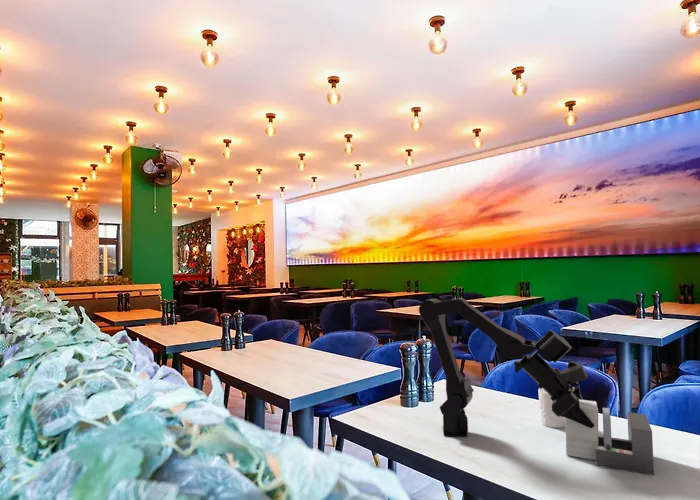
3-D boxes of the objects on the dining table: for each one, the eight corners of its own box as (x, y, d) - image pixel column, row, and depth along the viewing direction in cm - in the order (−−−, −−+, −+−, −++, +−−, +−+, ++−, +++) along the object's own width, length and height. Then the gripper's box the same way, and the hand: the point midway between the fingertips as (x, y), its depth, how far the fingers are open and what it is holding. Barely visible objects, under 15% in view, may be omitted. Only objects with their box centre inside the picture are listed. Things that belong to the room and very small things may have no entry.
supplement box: (597, 449, 114) (597, 401, 114) (598, 461, 108) (598, 410, 108) (565, 443, 118) (565, 396, 118) (564, 455, 111) (565, 404, 111)
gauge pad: (605, 463, 105) (603, 420, 105) (604, 446, 114) (602, 407, 114) (612, 464, 104) (611, 421, 104) (610, 447, 113) (609, 408, 113)
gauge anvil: (596, 465, 105) (594, 423, 106) (595, 446, 116) (593, 408, 116) (654, 475, 100) (652, 431, 100) (647, 454, 111) (645, 414, 111)
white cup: (571, 429, 128) (570, 395, 128) (542, 428, 129) (541, 394, 130) (564, 420, 136) (562, 387, 136) (536, 418, 137) (535, 386, 137)
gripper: (564, 361, 106) (620, 413, 101) (567, 346, 123) (615, 390, 117) (530, 390, 110) (583, 442, 104) (538, 372, 126) (583, 416, 121)
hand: (592, 421), depth 111 cm, fingers open, 8 cm apart
